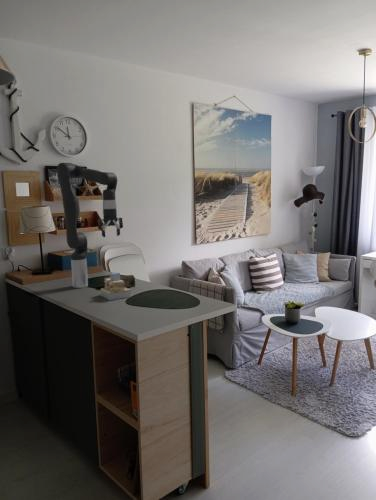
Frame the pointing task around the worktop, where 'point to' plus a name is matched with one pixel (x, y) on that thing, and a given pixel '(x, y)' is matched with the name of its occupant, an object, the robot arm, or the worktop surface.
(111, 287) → the tan rectangular block
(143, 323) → the worktop surface
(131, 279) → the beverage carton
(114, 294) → the dock
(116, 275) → the pale blue cube
